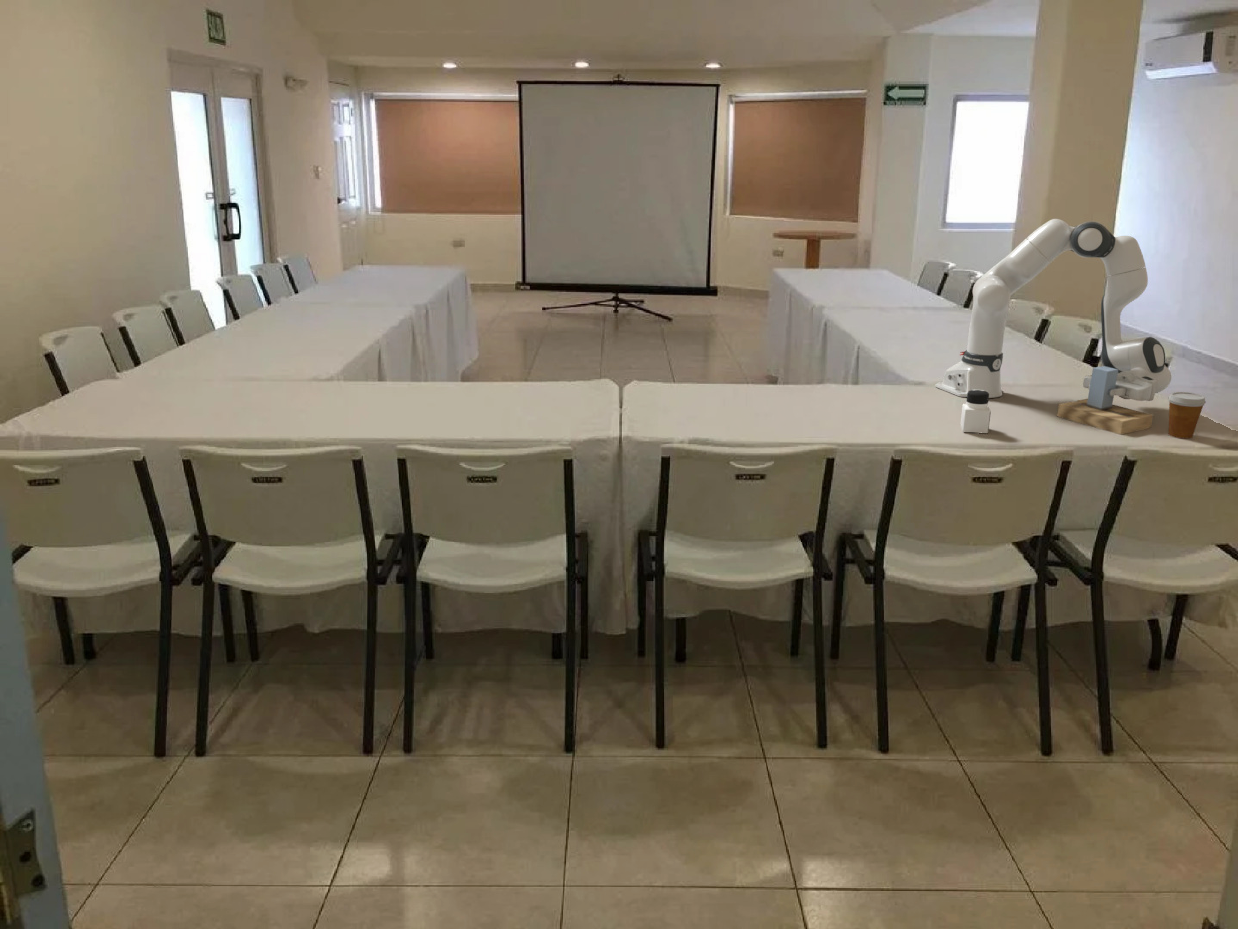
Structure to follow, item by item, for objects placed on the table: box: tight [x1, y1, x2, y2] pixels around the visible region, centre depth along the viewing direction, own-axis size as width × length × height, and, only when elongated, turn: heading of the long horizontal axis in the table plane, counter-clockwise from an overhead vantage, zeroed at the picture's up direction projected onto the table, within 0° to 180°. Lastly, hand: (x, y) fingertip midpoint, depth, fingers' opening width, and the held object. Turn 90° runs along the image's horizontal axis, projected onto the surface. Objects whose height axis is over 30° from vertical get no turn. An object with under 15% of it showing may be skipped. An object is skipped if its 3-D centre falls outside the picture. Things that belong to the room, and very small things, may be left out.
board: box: [1056, 398, 1154, 435], centre depth 307 cm, size 22×14×4 cm, turn 29°
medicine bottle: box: [959, 390, 991, 434], centre depth 298 cm, size 7×7×12 cm
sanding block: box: [1087, 365, 1119, 410], centre depth 307 cm, size 5×5×12 cm
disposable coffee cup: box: [1167, 391, 1207, 439], centre depth 293 cm, size 10×10×12 cm
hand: (1100, 390), depth 306 cm, fingers closed on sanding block, 5 cm apart
